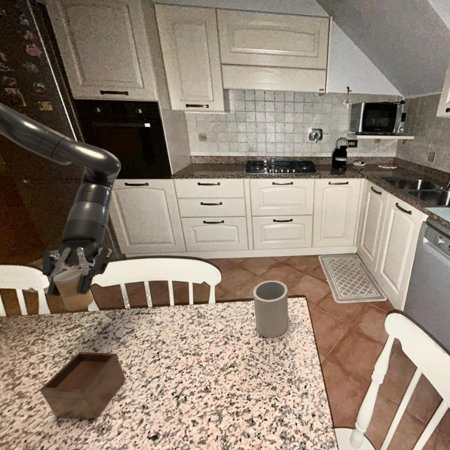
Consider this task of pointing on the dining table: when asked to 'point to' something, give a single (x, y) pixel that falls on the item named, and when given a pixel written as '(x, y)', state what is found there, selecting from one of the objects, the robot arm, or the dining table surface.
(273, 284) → the cup
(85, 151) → the robot arm
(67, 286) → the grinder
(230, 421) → the dining table surface
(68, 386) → the box
